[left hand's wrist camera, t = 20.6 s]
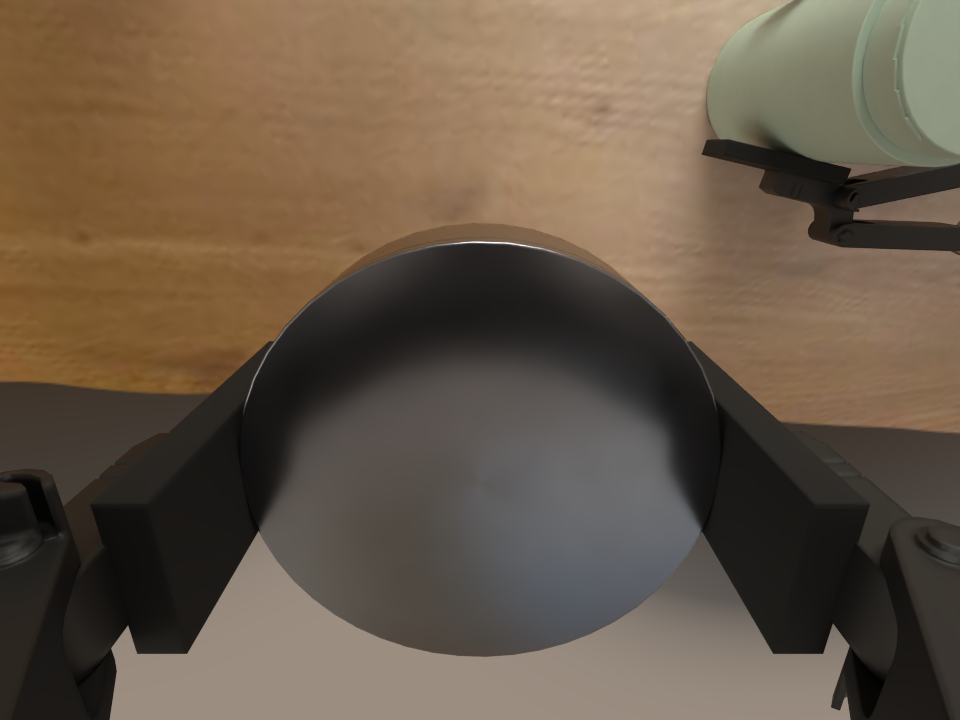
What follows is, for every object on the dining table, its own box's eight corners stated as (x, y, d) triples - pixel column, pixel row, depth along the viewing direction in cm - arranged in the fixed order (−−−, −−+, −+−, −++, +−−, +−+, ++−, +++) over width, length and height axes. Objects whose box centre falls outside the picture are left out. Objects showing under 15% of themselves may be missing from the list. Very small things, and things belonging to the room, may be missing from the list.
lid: (517, 630, 14) (524, 713, 12) (213, 463, 13) (158, 527, 10) (764, 383, 12) (827, 435, 10) (425, 124, 10) (410, 117, 8)
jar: (791, -26, 30) (1086, -191, 15) (870, 84, 32) (1197, 31, 18) (678, 91, 32) (843, 43, 18) (759, 187, 34) (967, 217, 20)
